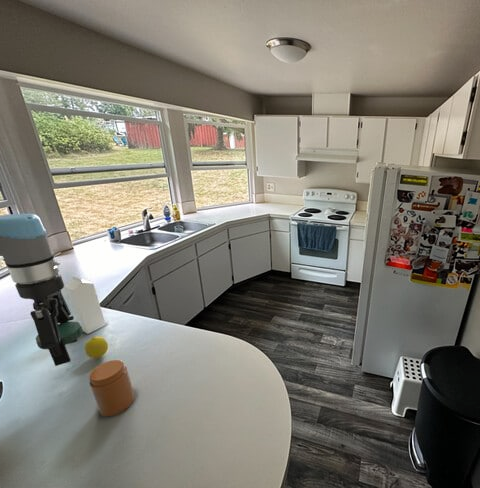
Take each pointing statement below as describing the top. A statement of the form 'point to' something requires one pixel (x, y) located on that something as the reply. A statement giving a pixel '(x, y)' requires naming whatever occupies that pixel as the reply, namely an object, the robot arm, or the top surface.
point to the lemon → (96, 347)
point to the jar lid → (66, 332)
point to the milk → (85, 304)
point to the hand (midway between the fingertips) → (66, 352)
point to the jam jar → (111, 387)
